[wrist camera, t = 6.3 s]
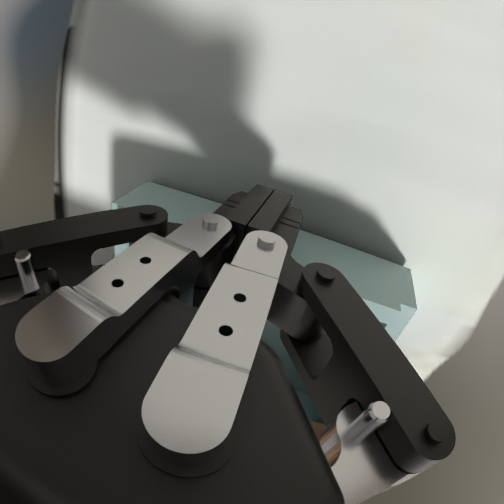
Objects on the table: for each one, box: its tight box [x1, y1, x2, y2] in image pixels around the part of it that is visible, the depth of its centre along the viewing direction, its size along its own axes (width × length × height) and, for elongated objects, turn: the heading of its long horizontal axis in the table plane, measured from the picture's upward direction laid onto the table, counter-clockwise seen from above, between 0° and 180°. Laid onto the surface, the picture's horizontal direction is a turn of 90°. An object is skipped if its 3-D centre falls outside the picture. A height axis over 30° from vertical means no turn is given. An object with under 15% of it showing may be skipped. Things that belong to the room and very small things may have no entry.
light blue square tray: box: [112, 181, 417, 424], centre depth 17 cm, size 12×14×4 cm
